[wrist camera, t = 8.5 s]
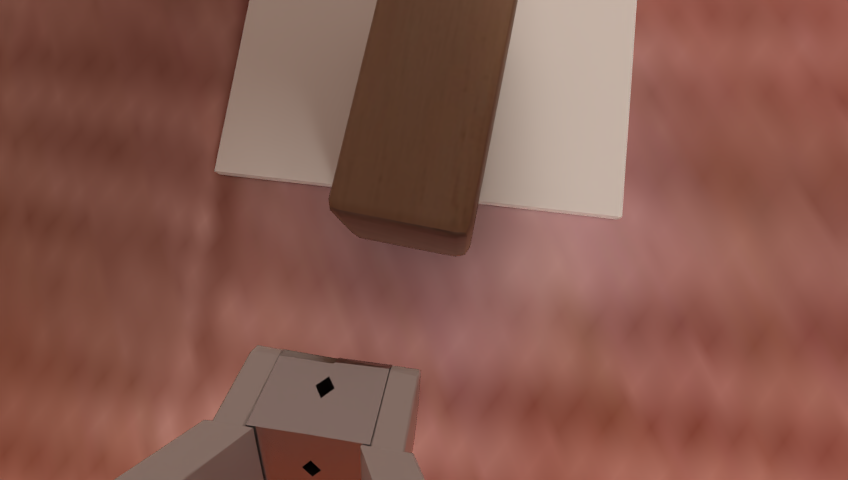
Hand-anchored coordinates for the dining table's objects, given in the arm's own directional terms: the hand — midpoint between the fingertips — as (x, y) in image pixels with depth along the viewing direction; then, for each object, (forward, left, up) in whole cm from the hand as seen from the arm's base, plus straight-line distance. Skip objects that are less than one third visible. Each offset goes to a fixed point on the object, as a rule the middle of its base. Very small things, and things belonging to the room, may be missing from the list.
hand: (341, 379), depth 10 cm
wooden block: (-1, -3, -6) cm, 7 cm away
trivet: (-5, -11, -8) cm, 14 cm away
